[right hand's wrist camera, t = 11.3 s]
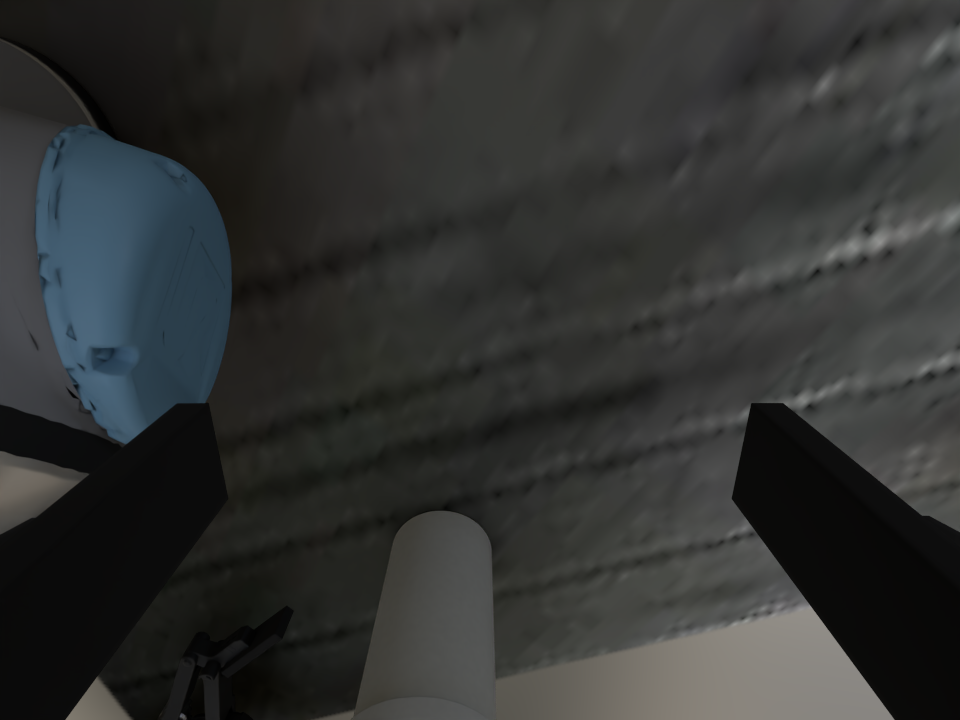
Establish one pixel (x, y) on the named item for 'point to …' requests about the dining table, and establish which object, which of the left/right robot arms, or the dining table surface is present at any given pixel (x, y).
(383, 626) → the jar
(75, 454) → the left robot arm
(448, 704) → the lid
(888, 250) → the dining table surface
